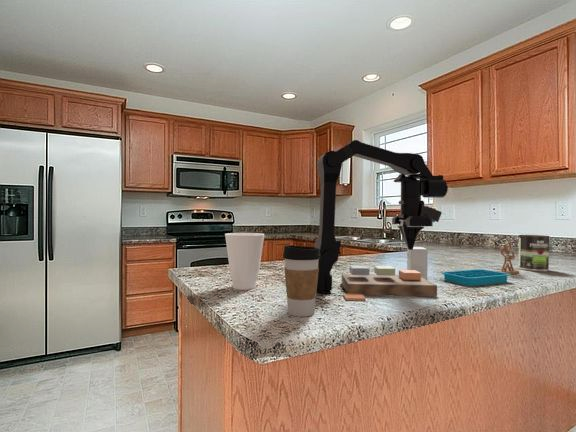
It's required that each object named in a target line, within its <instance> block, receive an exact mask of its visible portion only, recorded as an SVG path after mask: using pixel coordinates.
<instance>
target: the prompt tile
mask: <svg viewBox="0 0 576 432" xmlns="http://www.w3.org/2000/svg"><path fill="white" fill-rule="evenodd" d="M343 297H344V300H345V301H357V302H358V301H359V302H361V301H362V302H365V301H366V297H365V295H362V294H348V293H347V292H346V293H345V292H344V293H343Z"/></svg>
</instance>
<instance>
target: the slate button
mask: <svg viewBox="0 0 576 432" xmlns="http://www.w3.org/2000/svg"><path fill="white" fill-rule="evenodd" d="M349 274H352V275H369V274H370V267H368V266H367V265H349Z"/></svg>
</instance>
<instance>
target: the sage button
mask: <svg viewBox="0 0 576 432" xmlns="http://www.w3.org/2000/svg"><path fill="white" fill-rule="evenodd" d="M373 266H374V268H373V269H374V270H373V272H374V274H375V275H386V276H395V275H396V268H395V267H393V266H391V265H373Z"/></svg>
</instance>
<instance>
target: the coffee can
mask: <svg viewBox="0 0 576 432" xmlns="http://www.w3.org/2000/svg"><path fill="white" fill-rule="evenodd" d="M550 238H551V237H550V236H549V235H541V234H540V235H538V234H518V267H517V268H518V269H520V270H524V271H531V272H549V271H550V270H549V264H550V261H549V260H550Z"/></svg>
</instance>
